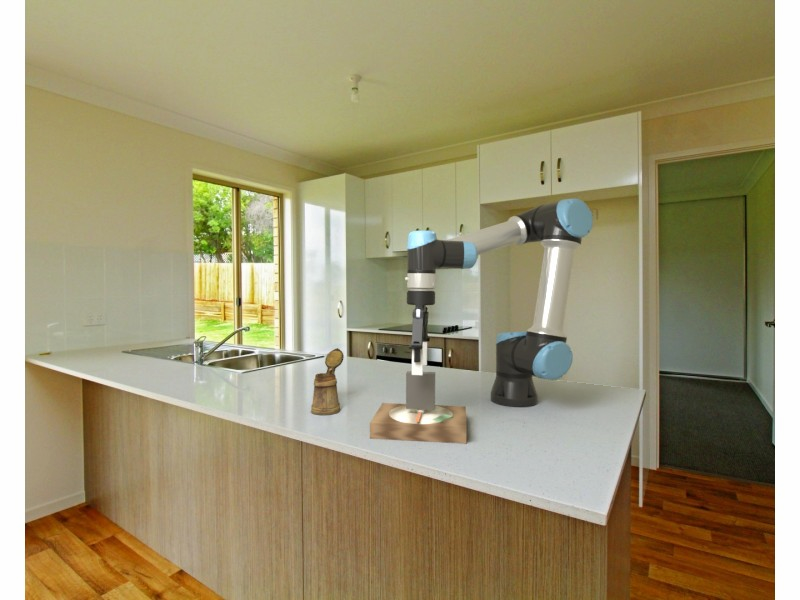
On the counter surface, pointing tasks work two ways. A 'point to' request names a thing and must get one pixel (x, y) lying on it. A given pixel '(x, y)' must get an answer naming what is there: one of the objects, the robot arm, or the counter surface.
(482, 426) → the counter surface
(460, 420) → the board
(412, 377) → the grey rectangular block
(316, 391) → the wooden mug
